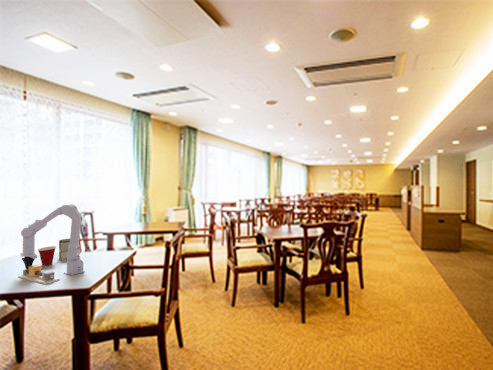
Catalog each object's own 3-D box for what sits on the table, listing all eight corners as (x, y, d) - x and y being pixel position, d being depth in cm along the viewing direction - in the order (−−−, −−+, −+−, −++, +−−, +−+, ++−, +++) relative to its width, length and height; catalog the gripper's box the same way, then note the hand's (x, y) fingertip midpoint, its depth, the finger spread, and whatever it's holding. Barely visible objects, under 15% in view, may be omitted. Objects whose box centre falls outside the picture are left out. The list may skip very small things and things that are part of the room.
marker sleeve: (41, 274, 168) (41, 265, 168) (33, 277, 164) (33, 267, 164) (36, 273, 170) (36, 264, 170) (28, 275, 166) (28, 266, 166)
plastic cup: (40, 263, 198) (40, 246, 198) (57, 261, 202) (58, 245, 202) (34, 267, 188) (34, 249, 188) (53, 265, 191) (53, 248, 192)
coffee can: (55, 259, 209) (55, 240, 209) (68, 255, 219) (68, 238, 219) (65, 260, 205) (65, 241, 206) (77, 257, 215) (78, 239, 215)
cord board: (59, 280, 162) (59, 271, 162) (44, 284, 155) (44, 275, 155) (33, 273, 175) (33, 265, 175) (18, 277, 167) (18, 268, 167)
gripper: (14, 246, 169) (14, 269, 169) (27, 249, 163) (27, 272, 163) (27, 244, 176) (27, 266, 176) (40, 246, 169) (40, 269, 169)
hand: (28, 268), depth 170 cm, fingers closed
